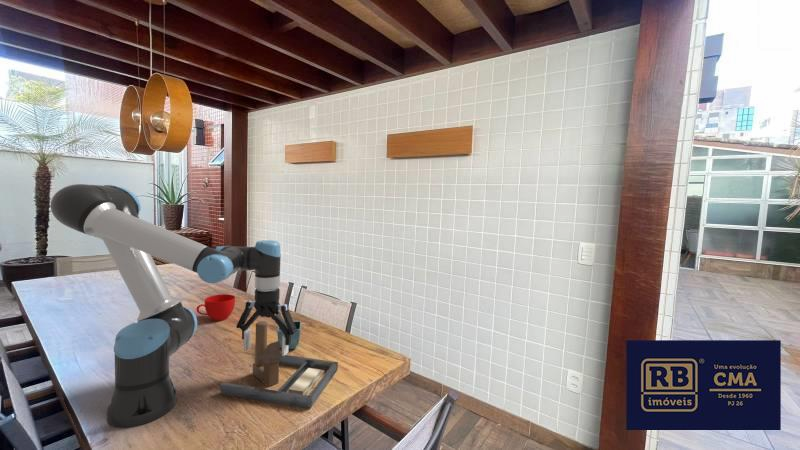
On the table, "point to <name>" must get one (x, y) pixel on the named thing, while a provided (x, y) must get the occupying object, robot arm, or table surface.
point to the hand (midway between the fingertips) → (266, 351)
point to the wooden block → (266, 356)
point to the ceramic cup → (218, 306)
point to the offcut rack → (287, 384)
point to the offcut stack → (306, 381)
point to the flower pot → (294, 337)
